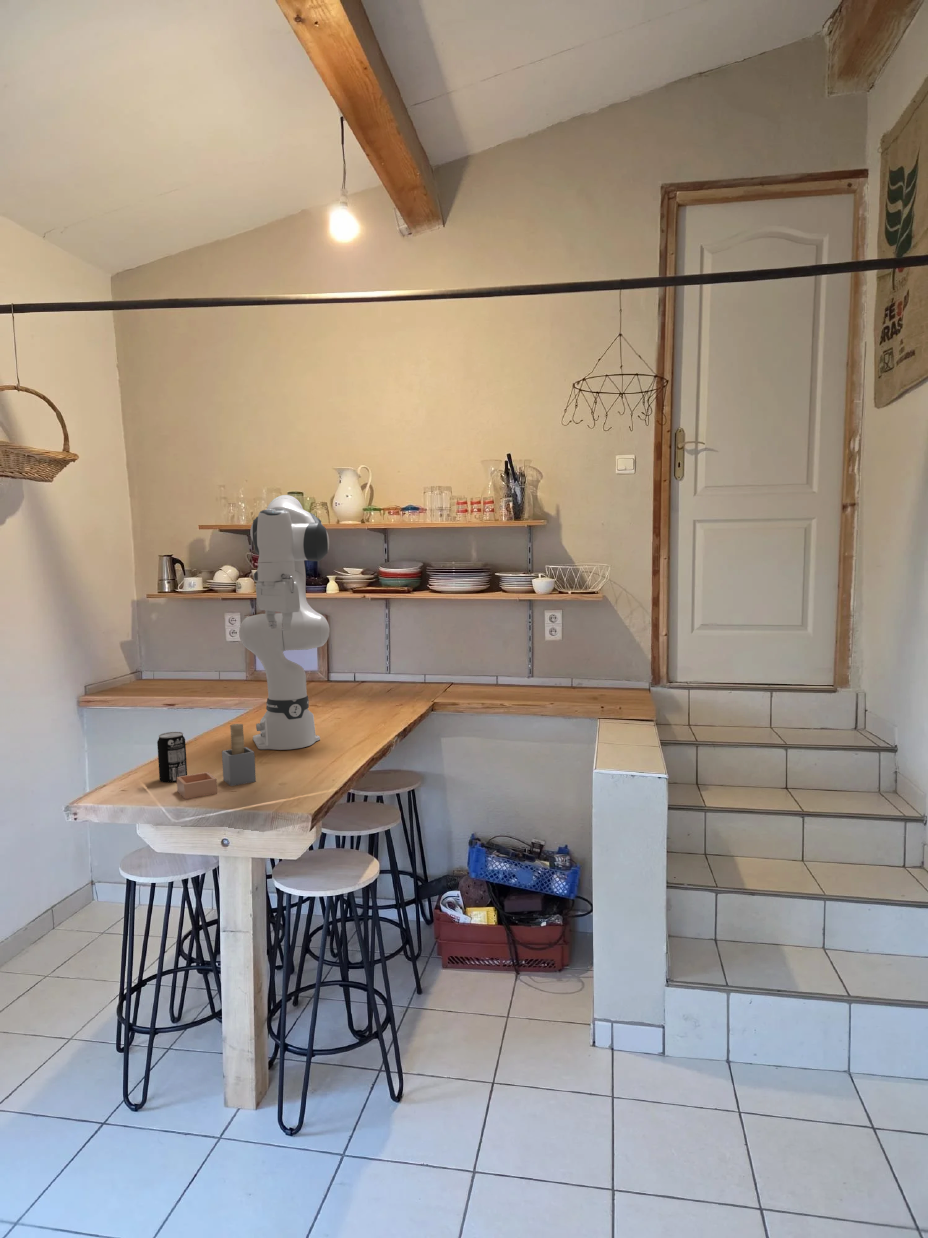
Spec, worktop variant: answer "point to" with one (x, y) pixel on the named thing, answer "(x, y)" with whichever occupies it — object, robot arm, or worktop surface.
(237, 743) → the dowel
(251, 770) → the deep cup
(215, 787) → the terracotta pot
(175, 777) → the beverage can
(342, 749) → the worktop surface
